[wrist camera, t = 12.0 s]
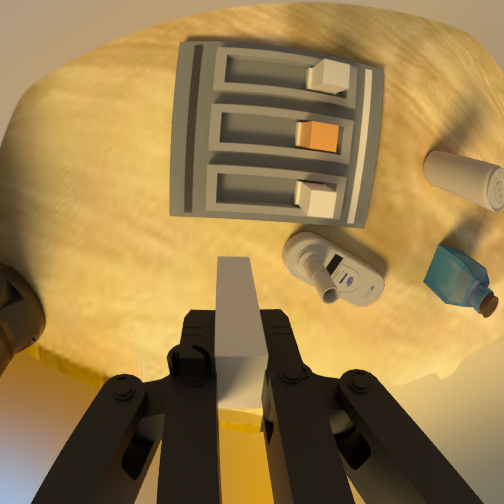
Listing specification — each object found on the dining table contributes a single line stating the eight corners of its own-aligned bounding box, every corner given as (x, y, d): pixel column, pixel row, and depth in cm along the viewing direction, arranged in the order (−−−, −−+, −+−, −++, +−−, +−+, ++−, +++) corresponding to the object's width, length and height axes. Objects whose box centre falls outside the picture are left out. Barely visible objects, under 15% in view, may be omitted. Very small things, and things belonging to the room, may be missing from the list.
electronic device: (391, 346, 28) (290, 308, 24) (360, 302, 37) (273, 259, 33) (420, 312, 27) (325, 259, 23) (382, 272, 36) (297, 222, 31)
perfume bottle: (461, 250, 35) (510, 287, 24) (447, 285, 37) (490, 327, 26) (438, 244, 34) (491, 284, 23) (423, 281, 36) (468, 328, 25)
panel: (172, 213, 30) (166, 220, 27) (182, 45, 22) (177, 37, 20) (360, 225, 32) (369, 233, 29) (379, 72, 24) (390, 68, 22)
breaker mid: (294, 145, 27) (306, 147, 22) (296, 122, 26) (309, 120, 21) (322, 149, 27) (339, 152, 22) (324, 126, 26) (342, 126, 21)
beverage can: (438, 143, 28) (505, 158, 17) (450, 173, 30) (514, 197, 19) (415, 161, 29) (483, 182, 18) (429, 192, 31) (492, 222, 20)
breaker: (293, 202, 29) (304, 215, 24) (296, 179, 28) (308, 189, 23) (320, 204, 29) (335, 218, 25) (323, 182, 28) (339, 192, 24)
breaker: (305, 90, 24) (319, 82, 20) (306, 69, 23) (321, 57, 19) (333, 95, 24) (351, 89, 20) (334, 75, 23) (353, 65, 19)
